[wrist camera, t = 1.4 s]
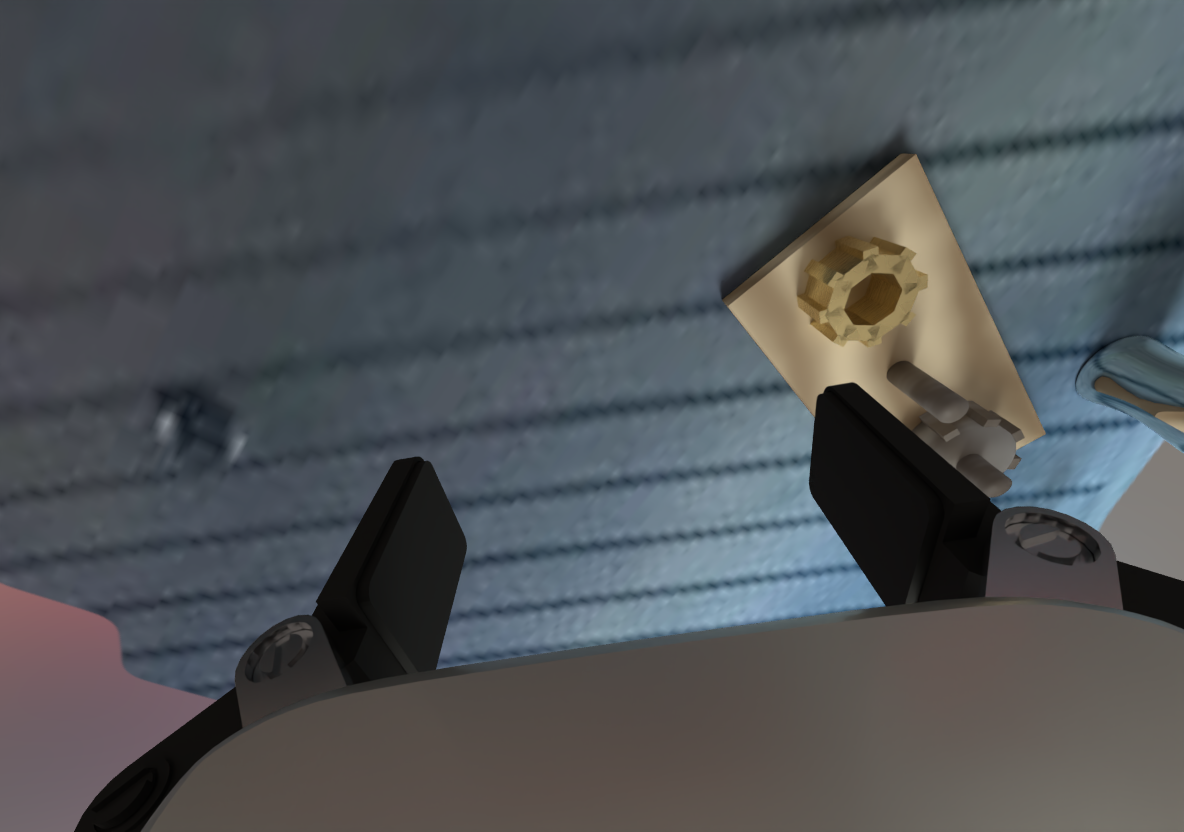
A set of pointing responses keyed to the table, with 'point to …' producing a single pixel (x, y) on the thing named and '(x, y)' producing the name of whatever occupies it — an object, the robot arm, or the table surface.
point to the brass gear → (883, 298)
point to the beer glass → (1139, 384)
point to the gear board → (901, 332)
